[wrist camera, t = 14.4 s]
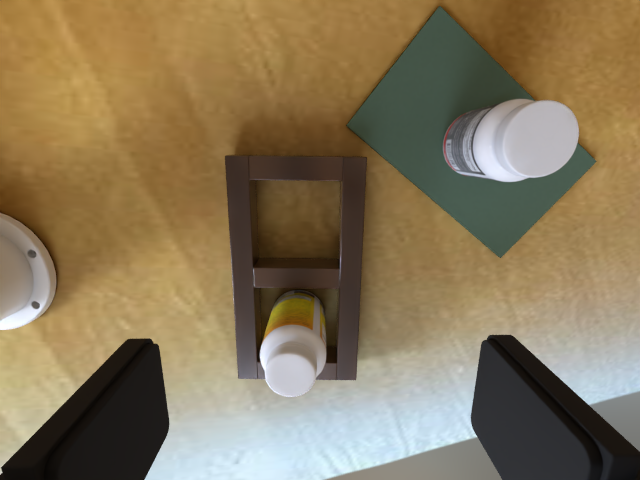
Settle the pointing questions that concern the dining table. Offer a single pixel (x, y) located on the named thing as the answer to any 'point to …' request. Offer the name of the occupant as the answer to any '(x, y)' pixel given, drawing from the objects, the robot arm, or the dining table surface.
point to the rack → (295, 271)
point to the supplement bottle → (294, 343)
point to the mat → (434, 120)
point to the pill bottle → (512, 140)
